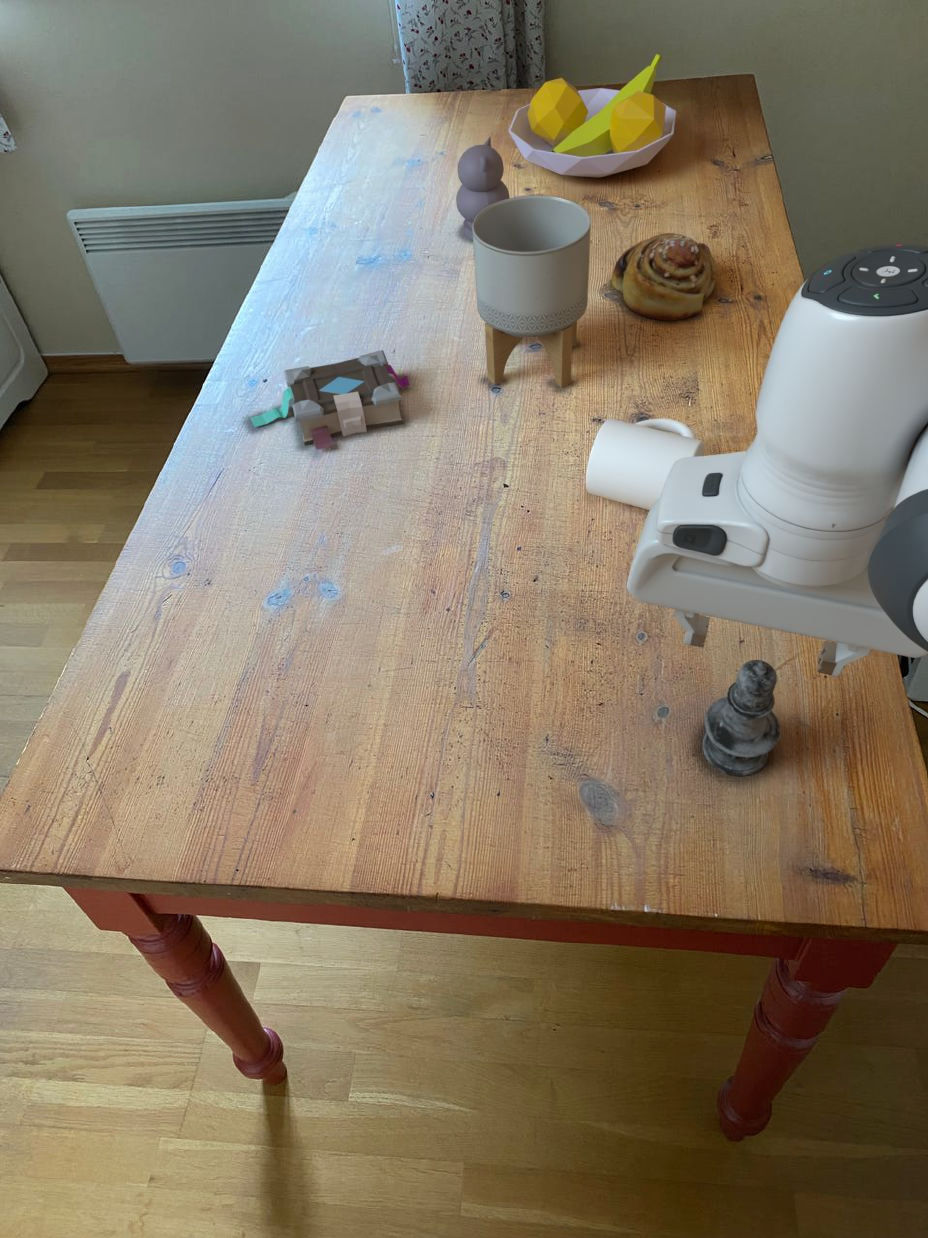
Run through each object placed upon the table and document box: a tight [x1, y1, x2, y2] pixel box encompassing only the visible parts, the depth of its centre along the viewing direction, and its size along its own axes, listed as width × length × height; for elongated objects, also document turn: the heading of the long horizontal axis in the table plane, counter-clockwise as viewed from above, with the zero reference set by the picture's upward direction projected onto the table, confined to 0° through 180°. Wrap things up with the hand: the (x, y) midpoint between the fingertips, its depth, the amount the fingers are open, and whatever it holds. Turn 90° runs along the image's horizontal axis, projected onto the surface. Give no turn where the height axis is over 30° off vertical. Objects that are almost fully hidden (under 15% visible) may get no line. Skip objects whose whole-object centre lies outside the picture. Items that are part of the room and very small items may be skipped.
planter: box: [472, 194, 592, 389], centre depth 104 cm, size 13×13×18 cm
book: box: [249, 349, 410, 451], centre depth 104 cm, size 20×12×5 cm, turn 105°
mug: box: [585, 418, 706, 511], centre depth 92 cm, size 12×10×8 cm
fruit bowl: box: [508, 53, 677, 179], centre depth 142 cm, size 28×27×11 cm
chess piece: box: [702, 659, 781, 778], centre depth 69 cm, size 6×6×12 cm
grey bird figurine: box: [455, 136, 511, 241], centre depth 129 cm, size 8×8×12 cm
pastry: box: [611, 232, 718, 322], centre depth 116 cm, size 13×15×8 cm
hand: (760, 653), depth 65 cm, fingers open, 8 cm apart
